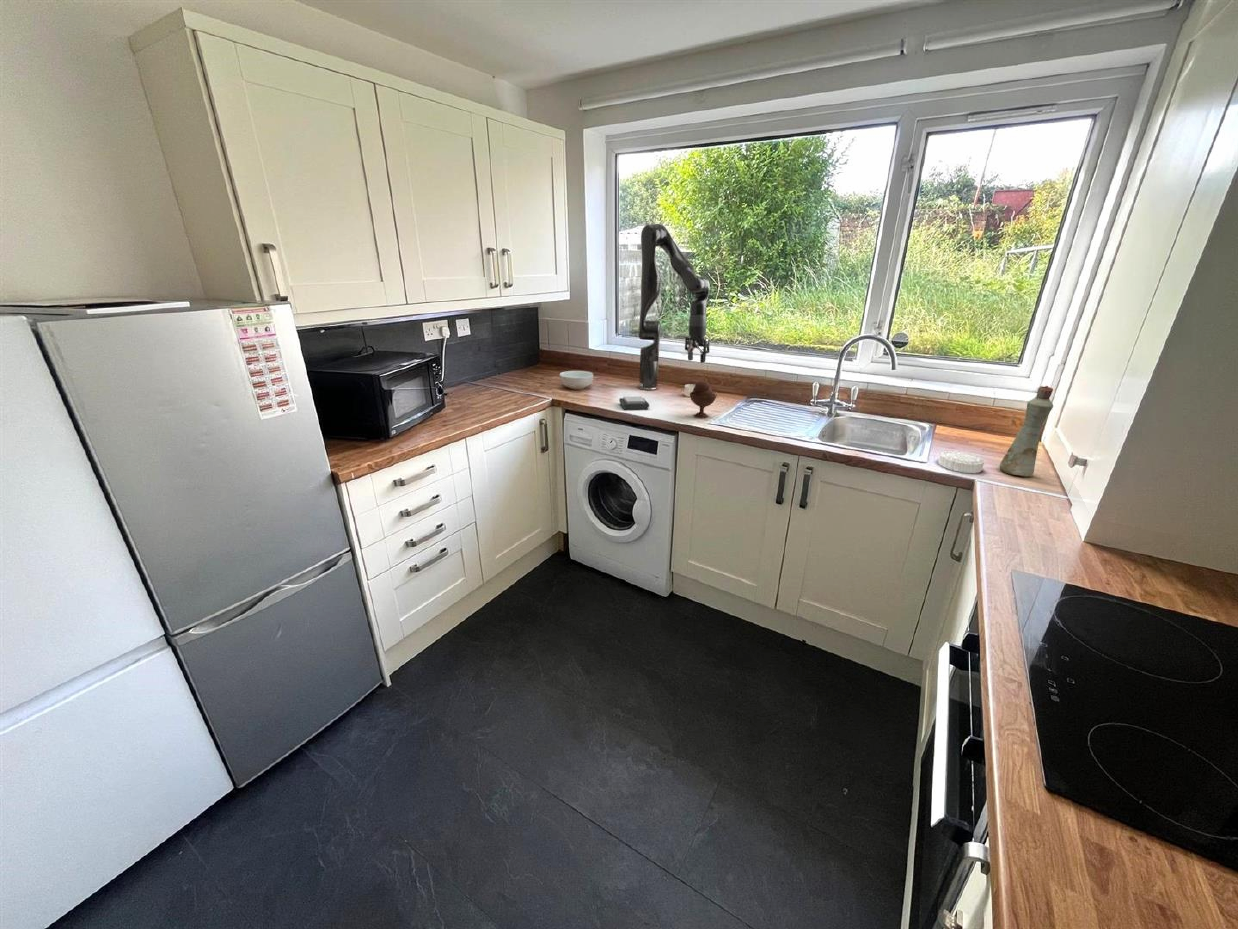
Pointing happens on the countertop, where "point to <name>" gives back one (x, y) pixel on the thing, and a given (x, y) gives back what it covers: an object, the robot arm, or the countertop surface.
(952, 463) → the mooncake
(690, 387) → the white short cylinder
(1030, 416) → the bottle
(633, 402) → the scale pan
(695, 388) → the ice cream bowl
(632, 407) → the scale
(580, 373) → the cereal bowl
